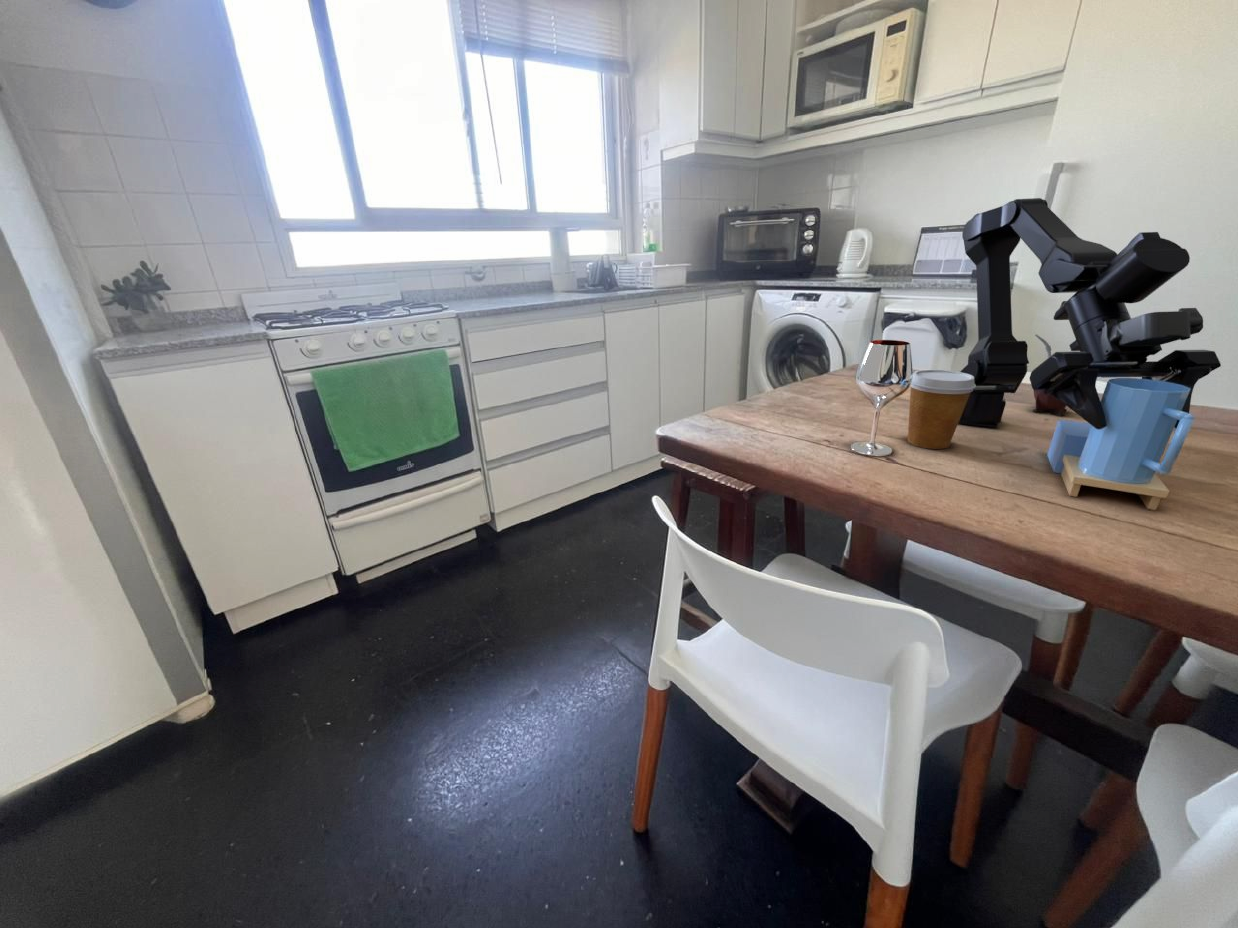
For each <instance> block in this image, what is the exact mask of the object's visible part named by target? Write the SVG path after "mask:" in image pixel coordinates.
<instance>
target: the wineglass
mask: <svg viewBox="0 0 1238 928" xmlns="http://www.w3.org/2000/svg"><path fill="white" fill-rule="evenodd" d="M913 365H914V364H913V355H912V346H911V342H910V341H905V340H898V339H877V340H876V339H875V340H874V339H873V340H870V341H869V342H868V344H867V346H866V348H865V350H864V353H863V355H862V357H861V359H860V361H859V364H858V367H857V369H856V373H855V377H854V379H855V384H856V387H857V389H858V390H859V392H860V393H861V394H862V395H863V396H864V397H865V398H866V399H867V400H868V401H869V403H871V405H872V406H873V408H874V411H873V412H874V414H873V419H872V425H871V431H870V435H869V439H868V441H856V442H853V443H851V444H850V450H851V451H853V452H855V453H857V454H860V455H864V456H868V457H869V456H870V457H886V456H889V455H891V454H892V452H893V449H892V448H891V447H890V446H888V445H886V444H883V443H880V442H876V438H877V430H878V425H879V419H880V414H881V410H882V409H883V408H884V407H885V406H886V405H888V404H889V403H891V402H893V401H895V400H896V399H898V398H899V397H901V396H902V395H903V394H905V393H906V392H907V391H908V390H909V389H910V388H911V386H910V385H911V383H912V379H913V373H914V367H913Z"/></svg>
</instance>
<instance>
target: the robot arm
mask: <svg viewBox="0 0 1238 928" xmlns="http://www.w3.org/2000/svg"><path fill="white" fill-rule="evenodd" d="M961 237H962V240H963V246H964V252H965V255H966V256H967V257H968V258H969V260H971V261H972V263H973V264H974V265H975V269H976V270H975V271H976V273H975V274H976V304H977V305H976V306H977V342H976V343H975V345H974V347H973V348H972V350H971V351H970V353H969V354H968V359H967V364H966V365H965V366H964V367H963V368H962V369H961V370H960V371H959V372H962V373H966V374H970V375H972V376H974V384H975V385H976V387H975V388H974V389H973V391H972V392H971V393H970V395H969V398H968V400H967V403H966V405H965V408H964V410H963V413H962V415H961V418H960V420H959V422H958V425H967V426H976V427H983V428H991V429H997V428H998V424H1000V423H1002V419H1003V415H1004V412H1005V408H1006V404H1007V402H1006V401H1007V400H1006V399H1005V398H1004V397H1005V394H1016V393H1017V391H1018V389H1019V387H1020V385H1021V384H1022V382H1023V380H1024V378H1025V377H1026V375H1027V373H1028V365H1029V364H1030V361H1029V358H1028V343H1027V341H1026V340H1017V338H1016V337H1015V336H1014V335H1013V316H1012V313H1013V312H1012V289H1011V288H1012V287H1011V286H1012V284H1011V255H1012V254H1013V253H1014V251H1015V249H1016V248H1017V246H1018V245H1019V243H1020V241H1022V242H1023V243H1024V244H1025V245H1026V246H1027V248H1028V249H1029V250H1030V251H1031V252H1032V253H1033V254H1034V256H1035V257H1036V258H1037V259H1038V260H1039V262H1040V264H1041V265H1040V268H1039V270H1038V276H1039V278H1040V280H1041V282H1042V284H1043V286H1044V288H1045V290H1046V291H1047V292H1049V294H1050V293H1051V294H1073V293H1074V294H1073V295H1072V296H1070V298H1069V299H1067V300H1063V301H1061V303H1060V306H1059V308H1058V309H1057V310H1056V311H1055V312H1054V315H1053V320H1054V321H1068V322H1069V324H1070V327H1071V330H1072V333H1073V335H1074V338H1075V340H1074V341H1073V342H1071V343H1070V344H1069V349H1070V351H1055V352H1054V353H1053V354H1051V356H1050V357H1049V358H1048V357H1047V358H1046V359H1045V360H1044V361H1042V363H1040V364H1039V365H1038V366H1037V367H1035V368H1033V370H1031V372H1030V375H1029V382H1030V385H1031V389H1032V390H1033V392H1034V391H1039V390H1044V391H1043V392H1044V394H1045V395H1050V396H1052V397H1054V398H1055V399H1057V400H1058V401H1060V402H1061V403H1063V404H1064V405H1066V407H1067V408H1069V409H1070V410H1072V412H1073V413H1075V414H1077V416H1079V417H1081V419H1083V420H1084V421H1086V423H1089V424H1091V425H1092V426H1093V427H1095V428H1096V429H1103V428H1105V427H1106V426H1107V424H1106V418H1105V414H1104V411H1103V408H1102V405H1101V402H1100V401H1101V399H1100V396H1099V393H1098V389H1097V385H1096V384H1097V381H1098V378H1104V379H1105V378H1109V379H1114V378H1141V379H1150V380H1159V381H1165V382H1171V383H1176V384H1180V385H1184V386H1187V387H1189V388H1191V390H1190V392H1189V394H1188V397H1187V399H1186V401H1185V404H1184V406H1183V408H1182V411H1183V412H1186V413H1189V414H1190V409H1191V401H1192V395H1193V391H1194V387H1195V385H1196V384H1197V382H1198V381H1199V380H1200V379H1202V378H1204V377H1206V376H1208V375H1210V374H1211V372H1213V371H1215V370H1216V369H1218V368H1220V367H1222V365H1221V362H1220V359H1219V358H1218V356H1217V353H1216V352H1215V351H1214V350H1210V349H1209V350H1208V349H1174V350H1173V351H1171V352H1170V353H1169V354H1168V353H1167V355H1165V356H1164V357H1161V358H1160V359H1159V360H1157V361H1156V360H1153V361H1148V357H1149V356H1156V355H1157V354H1158V353H1159V352H1161V351H1163V348H1162V345H1165V344H1169V343H1172V342H1173V343H1174V342H1176V341H1187V340H1189V339H1190V338H1191V336H1192V335H1196V334H1199V333H1200V332H1201V331H1202V330H1203V329H1204V317H1203V315H1202V314H1201V312H1200V311H1199V310H1198V309H1197V307H1181V308H1179V309H1178V311H1177V310H1176V311H1173V310H1172V311H1153V312H1148V313H1144V314H1141V315H1137V316H1135V317H1133V318H1132V317H1131V315H1130V312H1129V310H1128V308H1127V305H1126V304H1136V303H1140V302H1142V301H1144V300H1145V299H1146V298H1148V297H1149V296H1150V295H1152V294H1153V293H1154V292H1156V291H1157V290H1159V288H1161V287H1162V286H1163V285H1165V284H1166V283H1167V282H1169V281H1170V280H1171V279H1172V278H1174V277H1175V276H1177V274H1179V273H1181V272H1182V271H1183V270H1184V269H1186V267H1188V265H1189V263H1190V261H1191V260H1190V259H1191V257H1190V254H1189V252H1188V250H1187V249H1186V248H1183V247H1182V246H1180V245H1179V244H1177V243H1176V242H1174V241H1172V240H1170V239H1166V238H1163V237H1161V236H1160V233H1159V232H1158V231H1145V232H1144V231H1143V232H1142V231H1141V232H1139V233H1137V234H1136V235H1135V236H1134V237H1133V238H1132V239H1131V240H1130V241H1129V243H1128V244H1127V245H1126V246H1124V248H1122V250H1121V251H1119V253H1117V252H1116V251H1115V250H1113V249H1111V248H1109V247H1107V246H1106V245H1103V244H1101V243H1098V242H1094V241H1089V240H1085V239H1083V238H1081V237H1079V236H1078V235H1077V234H1076V233H1075V232H1074V231H1073V230H1072V229H1071V228H1070V227H1069V226H1068V225H1067V224H1066V223H1065V222H1063V220H1062V219H1061V218H1060V217H1059V216H1058V215H1057V214H1056V213H1054V211H1052V209H1050V207H1049V204H1048V201H1047V200H1046V199H1043V198H1041V197H1034V198H1033V197H1032V198H1016V199H1013V200H1010V201H1008V202H1007V203H1005V204H1003V205H1002V206H998V207H995V208H992V209H989V210H986V211H983V212H980V213H976V214H975V215H973V216H972V218H970V219H969V220H968V221H967V222H966V223H965V224H964V226H963V229H962V234H961ZM1179 421H1180V420H1177V422H1176V425H1175V427H1174V429H1176V428H1177V426H1178V424H1179Z"/></svg>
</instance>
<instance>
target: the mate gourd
mask: <svg viewBox="0 0 1238 928" xmlns="http://www.w3.org/2000/svg"><path fill="white" fill-rule="evenodd" d="M1035 337H1036V338H1037V339H1038V340H1039V341H1040V342H1041V343H1042V344H1043V345H1044V347H1045V348H1044V349H1045V352H1046V354H1047V359H1048V358H1049V357H1050V356H1052V348H1051V345H1050V344H1049V343H1048V342H1047V341H1046V340H1045V339H1044V338H1042V337H1041V336H1040V335H1038V334H1037V333H1036V334H1035ZM1043 391H1044V390H1039V391H1034V390H1033V398H1034V400H1035V408H1034V409H1033V408H1032V412H1033V413H1035V414H1036V413H1050V414H1051V415H1055V416H1058V417H1064V415H1065V413H1066V412H1067V410H1068V409H1067V408H1066V407H1067V406H1066V405H1064V404H1063V403H1061V402H1060V401H1058V400H1057V399H1055V398H1054V397H1052V396H1050V395H1045V394H1044V392H1043Z"/></svg>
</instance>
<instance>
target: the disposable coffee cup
mask: <svg viewBox="0 0 1238 928" xmlns="http://www.w3.org/2000/svg"><path fill="white" fill-rule="evenodd" d="M975 387H976V385H975V384H974V376H972V375H970V374H966V373H962V372H960V371H956V370H948V369H947V370H945V369H919V370H916V371H913V379H912V383H911V385H910V395H909V408H908V409H909V410H908V411H909V412H908V426H907V442H908V443H909V444H911V445H913V446H916V447H920V448H922V449H923V448H924V449H931V450H942V449H948V448H949V447H950V445H951V441H952V440H953V437H954V435H955V432H956V430H957V428H958V426H959V424H958V422H959V420H960V418H961V415H962V413H963V410H964V408H965V405H966V403H967V400H968V398H969V395H970V393H971V392H972V391H973V389H974V388H975Z"/></svg>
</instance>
